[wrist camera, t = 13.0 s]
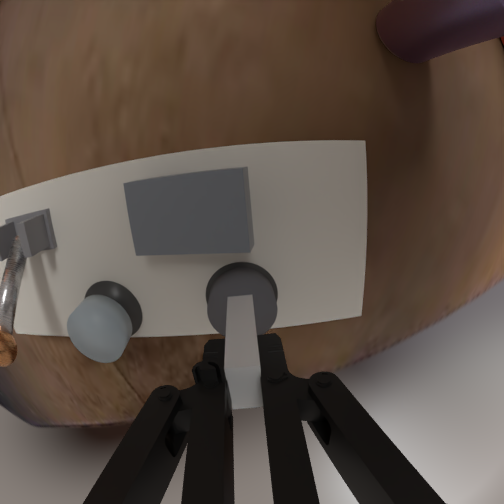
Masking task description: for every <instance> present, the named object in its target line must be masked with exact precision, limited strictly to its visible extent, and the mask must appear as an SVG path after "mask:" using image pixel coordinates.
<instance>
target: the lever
mask: <svg viewBox="0 0 504 504" xmlns="http://www.w3.org/2000/svg"><path fill="white" fill-rule="evenodd" d="M26 261H27V258H25V257H24V253H23V250H22V246H21V242H20V238H19V234H18V235H16V236H15V238H14V239H13V242H12V245H11V248H10V251H9V255H8V258H7V262H6V265H5V269H4V273H3V277H2V281H1V286H0V367H6V366H9V365H11V364H12V363H13V362H14V360H15V359H16V356H17V344H16V341H15V339H14V337H13V336H12V334H13V326H14V319H15V313H16V307H17V301H18V296H19V291H20V286H21V282H22V277H23V273H24V269H25V265H26Z"/></svg>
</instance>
